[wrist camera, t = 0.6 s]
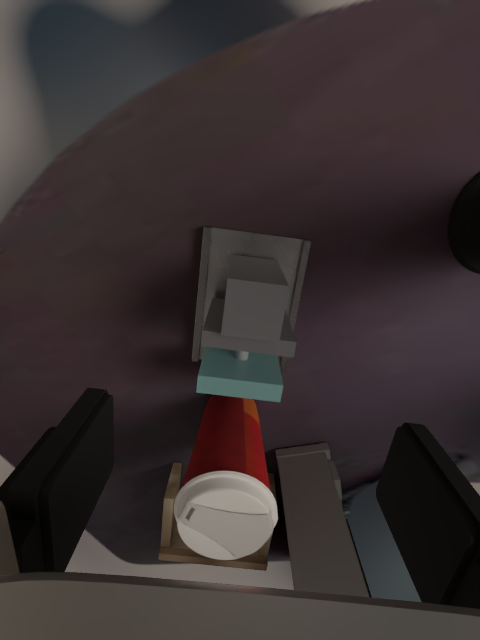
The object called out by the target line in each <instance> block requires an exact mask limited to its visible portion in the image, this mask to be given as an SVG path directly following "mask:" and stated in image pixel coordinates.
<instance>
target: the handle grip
mask: <svg viewBox="0 0 480 640" xmlns="http://www.w3.org/2000/svg"><path fill="white" fill-rule="evenodd" d="M448 235H449V244H450V246H451V249H452V251H453V253H454V256H455V257H456V258H457V259H458V260H459V262H460V263H461V264H462V265H463V266H465V267H466V268H468V269H470V270H471V271H473V272H477V273H480V172H479V173H478V174H477V175H476V176H475V177H474V178H473V179H472V180H471V181H470V182H469V183H468V184H467V185H466V186H465V187H464V189H463V190H462V192H461V193H460V195H459V196H458V198H457V199H456V201H455V204H454V206H453V209H452V211H451V214H450V219H449V226H448Z"/></svg>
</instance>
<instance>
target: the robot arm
mask: <svg viewBox="0 0 480 640" xmlns="http://www.w3.org/2000/svg"><path fill="white" fill-rule="evenodd" d="M113 461H114V449H113V396H112V395H108V392H107V390H104V389H95V388H88V389H86V391H85V392H84V393H83V394H82V396H81V397H80V398H79V399H78V401H77V402H76V403H75V404H74V406H73V407H72V408H71V409H70V411H69V412H68V413H67V414H66V416H65V417H64V418H63V420H62V421H61V422H60V423H59V425H58V426H57V427H51V428H49V429H48V430H47V431H46V432H45V433H44V434H43V436H42V437H41V438H40V439H39V440H38V442H37V443H36V444H35V445H34V447H33V448H32V449H31V450H30V451H29V453H28V454H27V455H26V456H25V457H24V459H23V460H22V461H21V462H20V464H19V465H18V466H17V467H16V468H15V470H14V471H13V472H12V473H11V474H10V476H9V477H8V478H7V479H6V481H5V482H4V483H3V484H2V485H1V487H0V640H480V496H479V494H478V493H477V492H476V490H475V489H474V488H473V487H472V485H471V484H470V483H469V482H468V480H467V479H466V478H465V476H464V475H463V474H462V473H461V471H460V470H459V469H458V467H457V466H456V465H455V464H454V462H453V461H452V460H451V458H450V457H449V456H448V455H447V453H446V452H445V451H444V449H443V448H442V447H441V446H440V444H439V443H438V442H437V440H436V439H435V438H434V437H433V435H432V434H431V433H430V432H429V430H428V429H427V428H426V427H425V426H424V425H422V424H413V423H404V424H403V425H402V427H398V428H397V430H396V432H395V435H394V438H393V441H392V444H391V447H390V450H389V453H388V456H387V459H386V462H385V464H384V467H383V470H382V473H381V476H380V479H379V482H378V485H377V489H376V497H377V501H378V503H379V505H380V507H381V510H382V512H383V514H384V516H385V519H386V521H387V524H388V526H389V528H390V530H391V533H392V535H393V537H394V540H395V542H396V544H397V546H398V549H399V551H400V553H401V556H402V558H403V560H404V562H405V565H406V567H407V569H408V572H409V574H410V576H411V578H412V581H413V583H414V585H415V588H416V590H417V592H418V594H419V596H420V599H421V601H422V602H412V601H402V600H390V599H381V598H371V597H361V596H350V595H340V594H329V593H318V592H308V591H297V590H286V589H275V588H263V587H252V586H241V585H230V584H218V583H205V582H195V581H182V580H171V579H160V578H147V577H136V576H121V575H106V574H90V573H76V572H64V571H65V569H66V567H67V565H68V563H69V561H70V559H71V557H72V554H73V552H74V550H75V548H76V546H77V544H78V542H79V540H80V537H81V535H82V533H83V531H84V529H85V527H86V525H87V523H88V520H89V518H90V516H91V514H92V512H93V510H94V508H95V506H96V503H97V501H98V499H99V497H100V495H101V493H102V491H103V489H104V486H105V484H106V482H107V480H108V478H109V476H110V474H111V471H112V468H113Z"/></svg>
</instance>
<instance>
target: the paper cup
mask: <svg viewBox="0 0 480 640" xmlns="http://www.w3.org/2000/svg"><path fill="white" fill-rule="evenodd" d="M174 515H175V519H176V522H177V528H178V532H179V534H180V536H181V538H182V540H183V541H184V543H185V544H186V545H187V546H188V547H189V548H191V549H192V550H193V551H195V552H197V553H198V554H200V555H203V556H205V557H209V558H212V559H218V560H234V559H238V558H241V557H244V556H247V555H250V554H252V553H254V552H255V551H257V550H258V549H260V548H261V547H262V546H263V544H264V543H265V542H266V541H267V540H268V539H269V538H270V536H271V534H272V532H273V529H274V527H275V525H276V523H277V520H278V513H277V504H276V501H275V498H274V496H273V494H272V493H271V491H270V485H269V479H268V473H267V466H266V460H265V453H264V447H263V441H262V434H261V428H260V422H259V416H258V411H257V407H256V404H255V402H254V400H253V399H248V398H239V397H231V396H222V395H213V396H212V397H211V398H210V399H209V401H208V403H207V405H206V408H205V411H204V414H203V418H202V421H201V425H200V428H199V432H198V435H197V439H196V442H195V446H194V449H193V452H192V455H191V459H190V462H189V465H188V468H187V472H186V476H185V480H184V484H183V487H182V488H181V489H180V491H179V492H178V494H177V496H176V499H175V503H174Z"/></svg>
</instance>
